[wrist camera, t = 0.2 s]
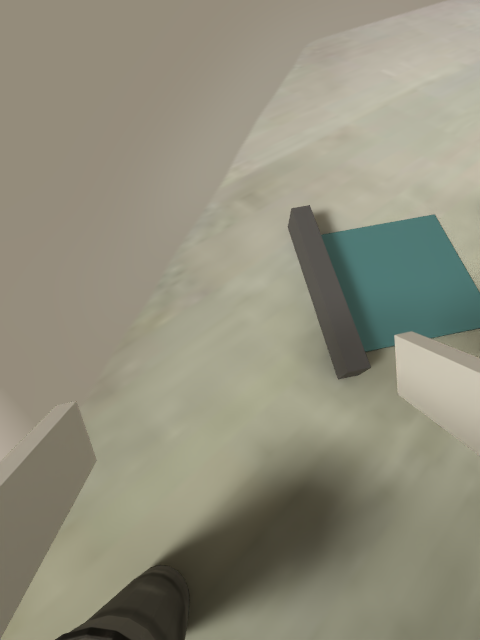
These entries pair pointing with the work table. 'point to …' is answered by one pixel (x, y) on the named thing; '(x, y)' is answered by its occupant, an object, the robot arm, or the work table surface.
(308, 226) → the stopper wall
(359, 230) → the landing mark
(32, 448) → the robot arm
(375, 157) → the work table surface
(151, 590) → the beverage cup
